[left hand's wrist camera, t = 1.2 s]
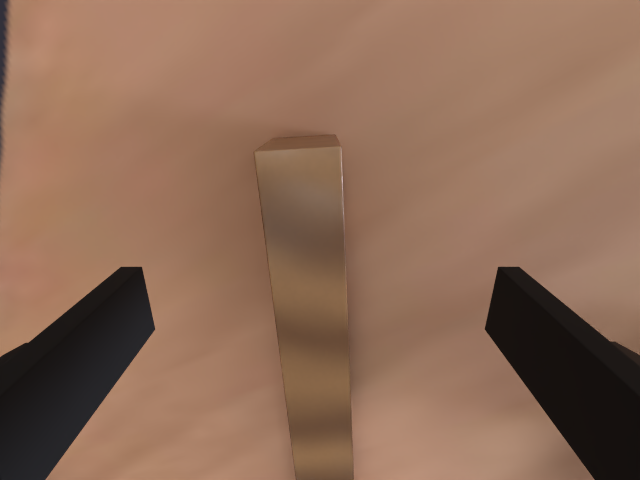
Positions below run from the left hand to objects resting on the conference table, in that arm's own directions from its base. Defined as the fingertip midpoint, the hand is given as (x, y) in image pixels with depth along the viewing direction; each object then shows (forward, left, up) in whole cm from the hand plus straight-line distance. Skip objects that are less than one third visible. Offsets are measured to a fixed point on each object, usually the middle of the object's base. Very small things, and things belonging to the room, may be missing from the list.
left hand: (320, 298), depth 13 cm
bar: (-30, +15, -17) cm, 37 cm away
